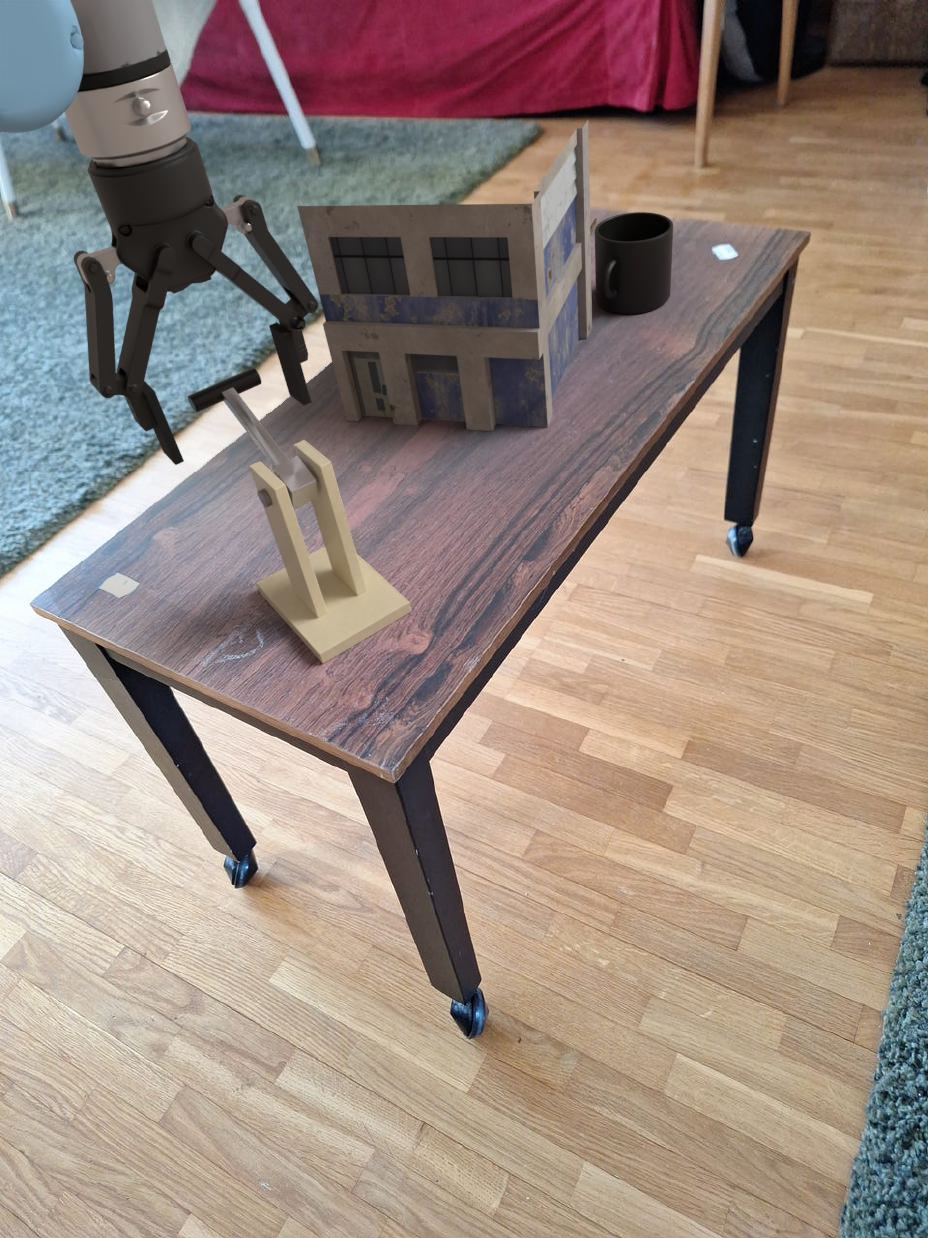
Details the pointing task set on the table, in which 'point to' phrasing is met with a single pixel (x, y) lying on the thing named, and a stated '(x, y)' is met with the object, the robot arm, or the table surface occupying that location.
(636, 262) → the mug
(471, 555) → the table surface
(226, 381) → the lever
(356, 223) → the building
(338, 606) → the bracket
